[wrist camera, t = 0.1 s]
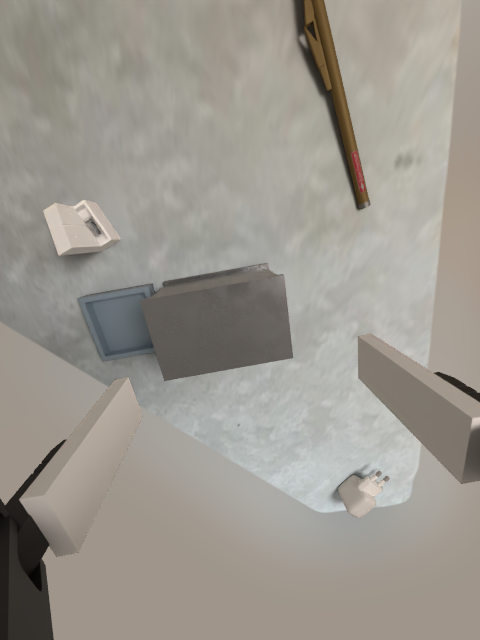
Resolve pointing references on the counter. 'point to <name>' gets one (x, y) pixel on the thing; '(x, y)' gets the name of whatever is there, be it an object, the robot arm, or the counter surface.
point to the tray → (118, 321)
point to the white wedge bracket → (79, 228)
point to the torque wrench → (334, 88)
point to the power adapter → (360, 493)
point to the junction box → (219, 321)
